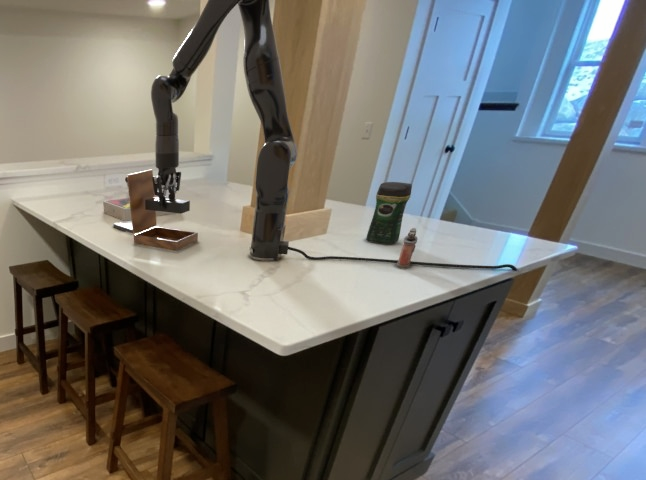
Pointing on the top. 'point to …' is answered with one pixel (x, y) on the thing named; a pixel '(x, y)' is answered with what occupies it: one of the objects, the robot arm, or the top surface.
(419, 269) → the top surface
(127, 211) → the product packaging
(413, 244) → the lighter
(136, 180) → the lid
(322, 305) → the top surface
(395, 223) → the coffee jar
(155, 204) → the remote
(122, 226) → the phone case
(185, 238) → the chest
